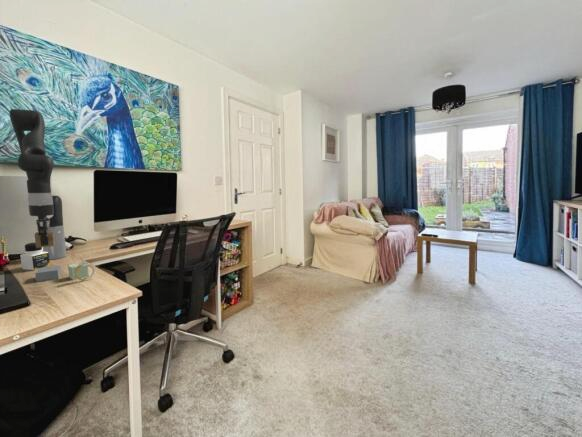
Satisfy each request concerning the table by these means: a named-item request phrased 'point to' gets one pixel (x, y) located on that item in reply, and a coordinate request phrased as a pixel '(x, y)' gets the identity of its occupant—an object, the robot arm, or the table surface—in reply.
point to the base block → (48, 273)
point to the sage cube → (80, 273)
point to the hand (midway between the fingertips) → (45, 243)
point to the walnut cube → (50, 239)
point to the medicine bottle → (34, 257)
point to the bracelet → (82, 266)
